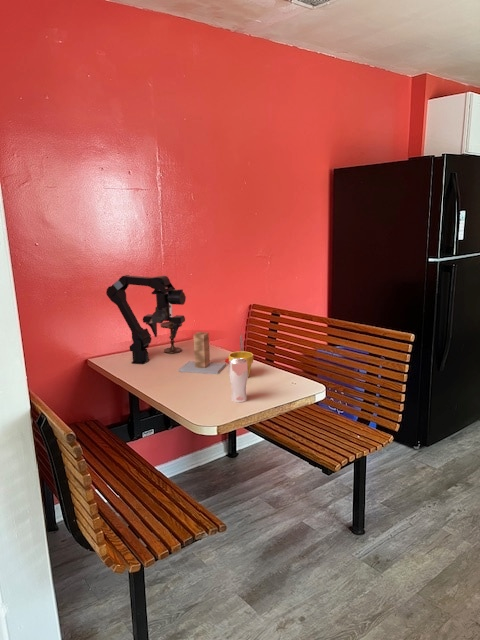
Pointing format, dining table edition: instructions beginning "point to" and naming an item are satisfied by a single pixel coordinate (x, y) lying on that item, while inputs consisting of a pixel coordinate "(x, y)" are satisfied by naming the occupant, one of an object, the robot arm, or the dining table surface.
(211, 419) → the dining table surface
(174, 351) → the candlestick
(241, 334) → the tow hook
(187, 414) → the dining table surface
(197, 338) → the walnut block
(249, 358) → the plant pot
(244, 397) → the beer glass
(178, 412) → the dining table surface
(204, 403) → the dining table surface
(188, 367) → the board
